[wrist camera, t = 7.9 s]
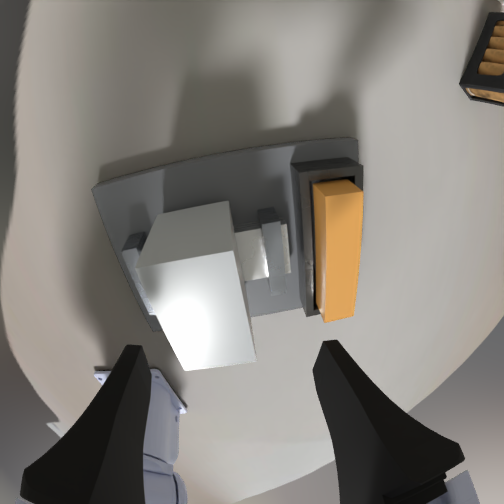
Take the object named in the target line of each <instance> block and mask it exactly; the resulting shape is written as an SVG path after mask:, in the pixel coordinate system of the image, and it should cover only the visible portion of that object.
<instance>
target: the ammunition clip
mask: <svg viewBox="0 0 504 504" xmlns="http://www.w3.org/2000/svg"><path fill="white" fill-rule="evenodd" d="M459 84H460V86H461V88H462V89H463V90H464V92H465V93H466V94H467V96H468V97H469V98H470V100H474V101H480V102H485V103H490V104H495V105H499V106H504V13H489V15H488V18H487V21H486V23H485V26H484V29H483V31H482V34H481V36H480V39H479V41H478V43H477V46H476V48H475V50H474V53H473V55H472V57H471V60H470V62H469V64H468V66H467V68H466V70H465V73H464V75H463V77H462V79H461V81H460V83H459Z"/></svg>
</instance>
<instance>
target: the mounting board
mask: <svg viewBox="0 0 504 504" xmlns="http://www.w3.org/2000/svg"><path fill="white" fill-rule="evenodd" d="M342 157H349V158H351V159H353V160H354V161H356V162H358V163H359V158H358V140H356V139H354V138H352V137H347V138H333V139H321V140H310V141H301V142H292V143H283V144H276V145H268V146H261V147H255V148H248V149H242V150H236V151H230V152H225V153H219V154H214V155H209V156H204V157H199V158H194V159H190V160H185V161H180V162H176V163H172V164H168V165H163V166H159V167H155V168H151V169H147V170H144V171H140V172H136V173H132V174H129V175H125V176H122V177H118V178H115V179H112V180H108V181H105V182H102V183H99V184H97V185H96V186H94V187H93V188H92V189H91V190H92V193H93V196H94V198H95V201H96V204H97V207H98V210H99V213H100V215H101V218H102V221H103V224H104V226H105V229H106V231H107V234H108V236H109V239H110V241H111V244H112V246H113V249H114V251H115V254H116V256H117V258H118V261H119V263H120V265H121V268H122V270H123V272H124V274H125V276H126V279H127V281H128V283H129V285H130V287H131V289H132V292H133V294H134V296H135V298H136V300H137V302H138V304H139V306H140V308H141V310H142V312H143V314H144V316H145V318H146V320H147V322H148V324H149V325H150V327H151V329H152V331H161V330H163V329H162V327H161V325H160V323H159V321H158V318H157V316H156V315H149V313H148V311H147V309H146V306H145V304H144V302H143V300H142V298H141V296H140V294H139V292H138V290H137V287H136V285H135V283H134V281H133V279H132V276H131V274H130V272H129V270H128V267H127V265H126V263H125V260H124V258H123V255H122V253H121V250H122V248H123V246H124V244H125V243H126V241H127V239H128V237H129V235H131V234H135V233H140V232H144V233H145V236H146V239H147V237H148V235H149V233H150V231H151V228H152V226H153V224H154V221H155V219H156V217H157V215H158V214H163V213H168V212H172V211H177V210H182V209H187V208H192V207H197V206H202V205H207V204H212V203H218V202H223V201H229V203H230V209H231V214H232V221H233V225H239V224H244V223H250V222H256V221H259V220H258V213H257V210H258V209H264V208H270V207H274V209H275V211H276V213H277V215H278V217H283V218H284V220H285V222H286V224H287V233H288V244H289V256H290V268H291V273H288V274H286V285H287V293H286V294H280V295H275V296H271V292H270V288H269V284H268V280H267V277H266V278H261V279H255V280H250V281H245V286H246V293H247V298H248V305H249V311H250V317H256V316H261V315H267V314H272V313H277V312H282V311H288V310H293V309H298V308H302V307H303V306H302V303H301V300H300V294H299V275H298V258H297V243H296V229H295V216H294V204H293V193H292V182H291V172H290V163H297V162H305V161H313V160H322V159H332V158H342ZM335 180H341V177H337V178H328V179H320V180H313V181H309V187H310V203H311V223H312V248H313V290H316V246H315V217H314V197H313V183H319V182H327V181H335Z"/></svg>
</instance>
